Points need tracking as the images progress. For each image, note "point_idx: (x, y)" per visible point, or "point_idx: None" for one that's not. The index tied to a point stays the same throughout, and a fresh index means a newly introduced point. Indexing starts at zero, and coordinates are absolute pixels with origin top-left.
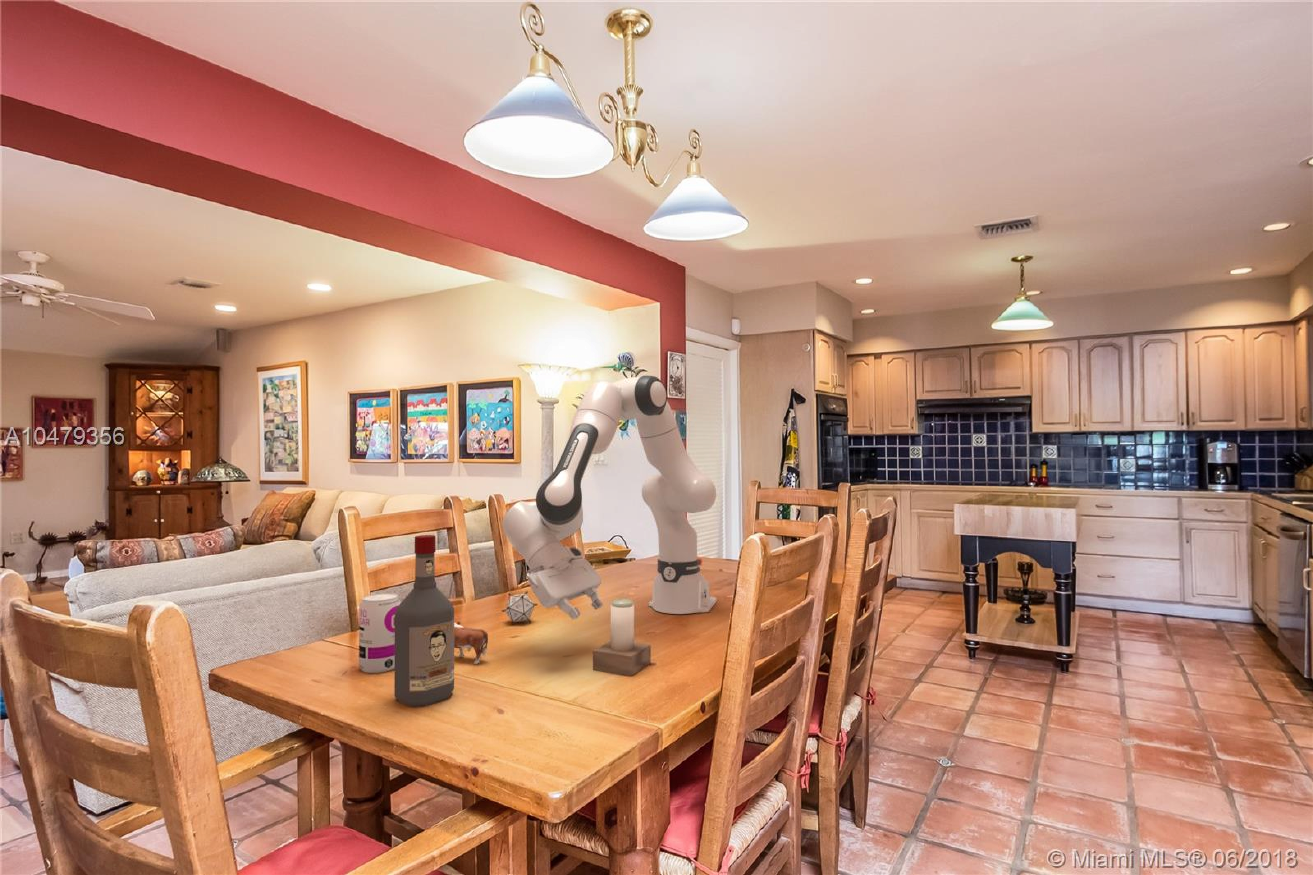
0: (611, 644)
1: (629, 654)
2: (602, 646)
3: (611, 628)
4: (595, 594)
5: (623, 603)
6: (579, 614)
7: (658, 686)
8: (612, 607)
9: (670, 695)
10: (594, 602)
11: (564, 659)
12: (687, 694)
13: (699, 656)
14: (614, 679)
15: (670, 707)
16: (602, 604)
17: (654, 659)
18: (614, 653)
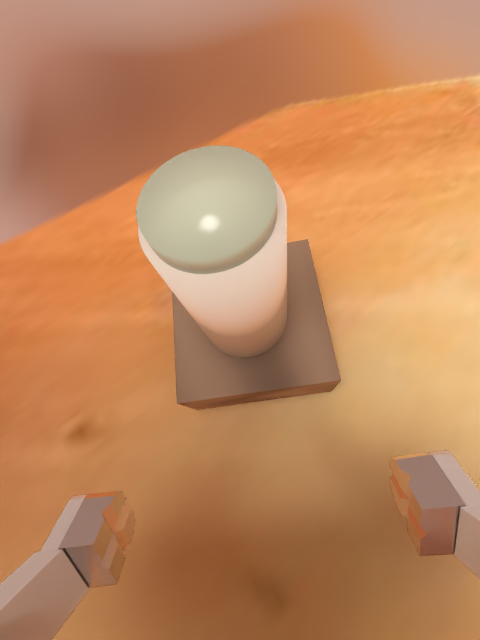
0: (282, 328)
1: (293, 253)
2: (276, 383)
3: (280, 304)
4: (13, 610)
5: (250, 160)
6: (404, 456)
7: (318, 186)
8: (283, 233)
9: (345, 143)
10: (104, 555)
11: (310, 569)
12: (318, 126)
13: (87, 232)
14: (351, 289)
15: (398, 111)
16: (83, 495)
17: (155, 302)
18: (315, 296)
